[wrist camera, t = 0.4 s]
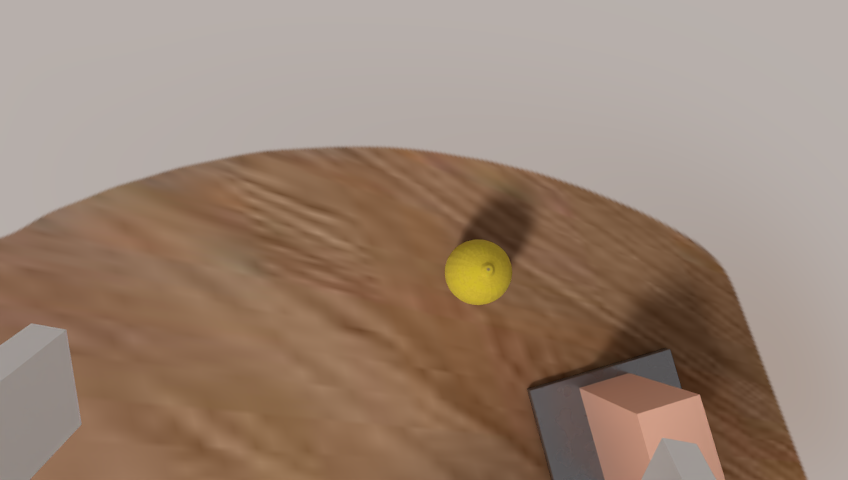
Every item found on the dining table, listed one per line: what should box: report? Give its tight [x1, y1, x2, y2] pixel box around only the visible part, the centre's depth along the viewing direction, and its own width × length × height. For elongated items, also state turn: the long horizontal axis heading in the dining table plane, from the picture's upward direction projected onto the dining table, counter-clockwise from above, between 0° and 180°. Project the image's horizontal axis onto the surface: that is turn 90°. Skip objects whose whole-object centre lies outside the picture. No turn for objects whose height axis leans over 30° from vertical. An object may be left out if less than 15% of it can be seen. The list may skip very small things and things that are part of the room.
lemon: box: [445, 240, 512, 305], centre depth 42 cm, size 6×6×8 cm
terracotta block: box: [579, 373, 725, 480], centre depth 40 cm, size 9×5×10 cm, turn 14°
